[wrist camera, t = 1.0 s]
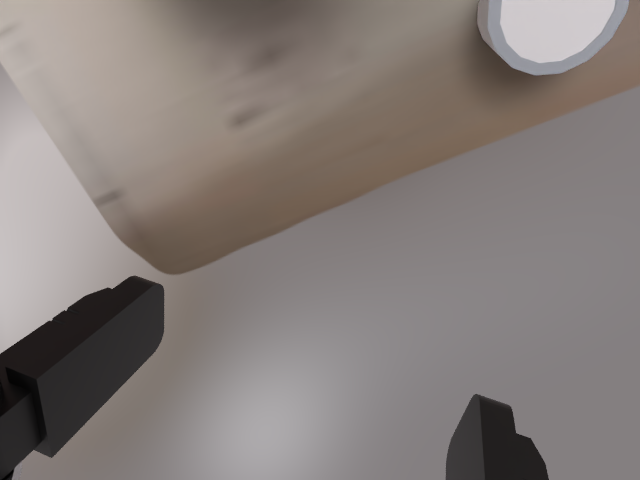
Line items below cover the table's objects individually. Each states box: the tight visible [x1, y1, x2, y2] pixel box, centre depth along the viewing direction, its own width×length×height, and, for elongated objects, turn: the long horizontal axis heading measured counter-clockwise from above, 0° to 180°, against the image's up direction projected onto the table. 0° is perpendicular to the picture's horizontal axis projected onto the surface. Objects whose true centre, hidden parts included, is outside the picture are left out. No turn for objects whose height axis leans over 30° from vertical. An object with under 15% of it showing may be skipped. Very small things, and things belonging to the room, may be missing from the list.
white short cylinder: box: [477, 0, 629, 76], centre depth 25 cm, size 7×7×7 cm
